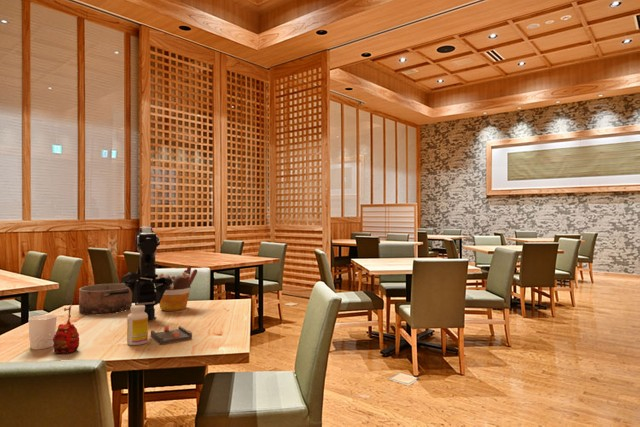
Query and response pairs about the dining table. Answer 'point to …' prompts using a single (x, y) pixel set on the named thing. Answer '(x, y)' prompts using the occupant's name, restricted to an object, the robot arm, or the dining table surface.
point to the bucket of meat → (177, 291)
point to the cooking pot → (104, 299)
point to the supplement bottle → (137, 325)
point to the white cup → (42, 331)
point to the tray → (171, 335)
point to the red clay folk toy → (66, 337)
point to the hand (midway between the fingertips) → (147, 302)
